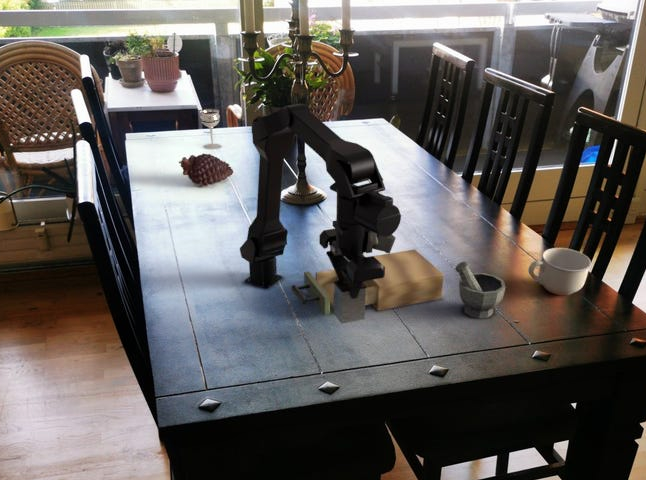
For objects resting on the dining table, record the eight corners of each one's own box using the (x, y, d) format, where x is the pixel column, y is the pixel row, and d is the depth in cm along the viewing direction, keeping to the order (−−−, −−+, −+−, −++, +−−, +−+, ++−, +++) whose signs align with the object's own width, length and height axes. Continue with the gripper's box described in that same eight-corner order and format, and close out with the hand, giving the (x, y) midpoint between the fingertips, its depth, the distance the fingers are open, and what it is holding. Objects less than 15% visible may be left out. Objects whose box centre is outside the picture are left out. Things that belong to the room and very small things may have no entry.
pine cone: (223, 172, 233) (235, 149, 225) (231, 196, 229) (243, 173, 221) (170, 166, 223) (181, 142, 215) (178, 191, 218) (189, 167, 211)
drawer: (306, 319, 153) (306, 301, 151) (287, 292, 163) (286, 274, 161) (386, 304, 159) (387, 286, 157) (363, 279, 169) (363, 262, 167)
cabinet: (378, 310, 158) (379, 285, 155) (352, 283, 169) (353, 259, 166) (441, 298, 163) (443, 274, 160) (412, 272, 174) (414, 249, 171)
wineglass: (226, 145, 257) (223, 110, 250) (213, 150, 252) (210, 115, 245) (211, 142, 260) (208, 108, 253) (198, 147, 255) (195, 112, 248)
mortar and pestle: (491, 298, 164) (498, 249, 157) (508, 319, 156) (516, 268, 149) (443, 303, 162) (448, 253, 155) (458, 324, 154) (464, 273, 147)
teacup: (575, 278, 173) (582, 247, 168) (590, 300, 164) (598, 268, 159) (517, 278, 172) (522, 247, 168) (529, 300, 163) (535, 268, 159)
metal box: (341, 324, 144) (341, 287, 140) (333, 314, 147) (333, 277, 143) (365, 319, 146) (366, 282, 141) (357, 309, 149) (358, 273, 145)
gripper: (413, 231, 130) (407, 307, 139) (370, 196, 145) (368, 267, 153) (356, 240, 127) (353, 318, 135) (318, 203, 141) (318, 275, 150)
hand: (349, 293), depth 144 cm, fingers closed on metal box, 4 cm apart
